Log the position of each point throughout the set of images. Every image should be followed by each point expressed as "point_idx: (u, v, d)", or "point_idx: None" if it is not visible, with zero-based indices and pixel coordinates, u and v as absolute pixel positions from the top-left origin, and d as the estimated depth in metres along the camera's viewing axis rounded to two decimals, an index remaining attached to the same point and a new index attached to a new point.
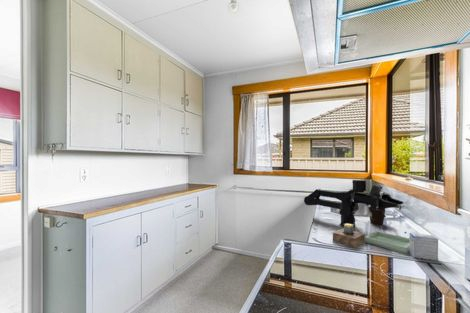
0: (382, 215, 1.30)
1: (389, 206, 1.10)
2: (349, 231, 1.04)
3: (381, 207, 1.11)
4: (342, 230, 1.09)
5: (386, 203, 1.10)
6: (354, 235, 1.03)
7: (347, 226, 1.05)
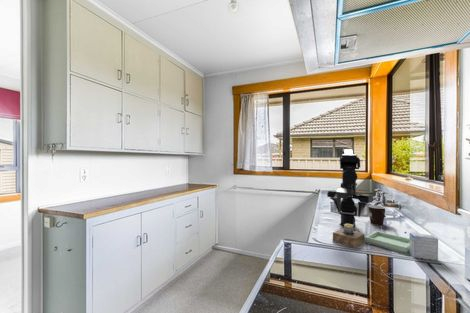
0: (382, 215, 1.30)
1: None
2: (349, 231, 1.04)
3: None
4: (342, 230, 1.09)
5: None
6: (354, 235, 1.03)
7: (347, 226, 1.05)
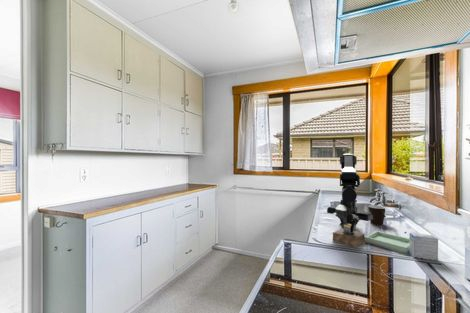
0: (382, 215, 1.30)
1: None
2: (349, 231, 1.04)
3: None
4: (342, 230, 1.09)
5: None
6: (354, 235, 1.03)
7: (347, 226, 1.05)
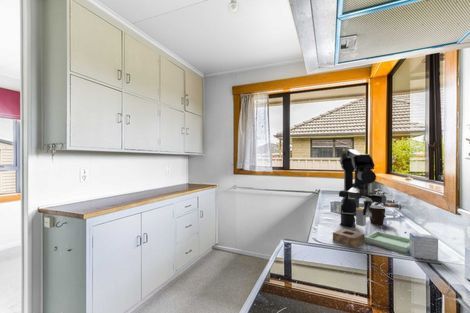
0: (382, 215, 1.30)
1: None
2: (362, 214, 1.03)
3: None
4: (342, 230, 1.09)
5: None
6: (354, 235, 1.03)
7: (360, 209, 1.04)
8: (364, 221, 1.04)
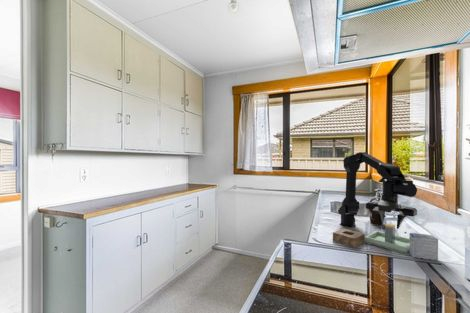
0: None
1: None
2: (391, 231, 1.01)
3: None
4: (342, 230, 1.09)
5: None
6: (354, 235, 1.03)
7: (389, 226, 1.02)
8: (393, 239, 1.02)
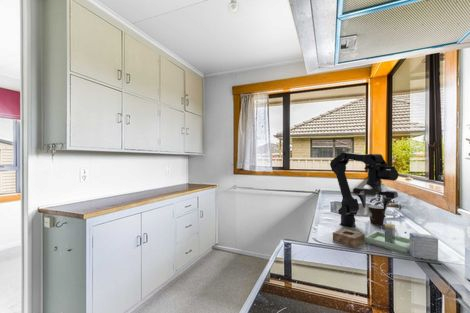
0: (382, 215, 1.30)
1: None
2: (391, 231, 1.01)
3: None
4: (342, 230, 1.09)
5: None
6: (354, 235, 1.03)
7: (389, 226, 1.02)
8: (393, 239, 1.02)
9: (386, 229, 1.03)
